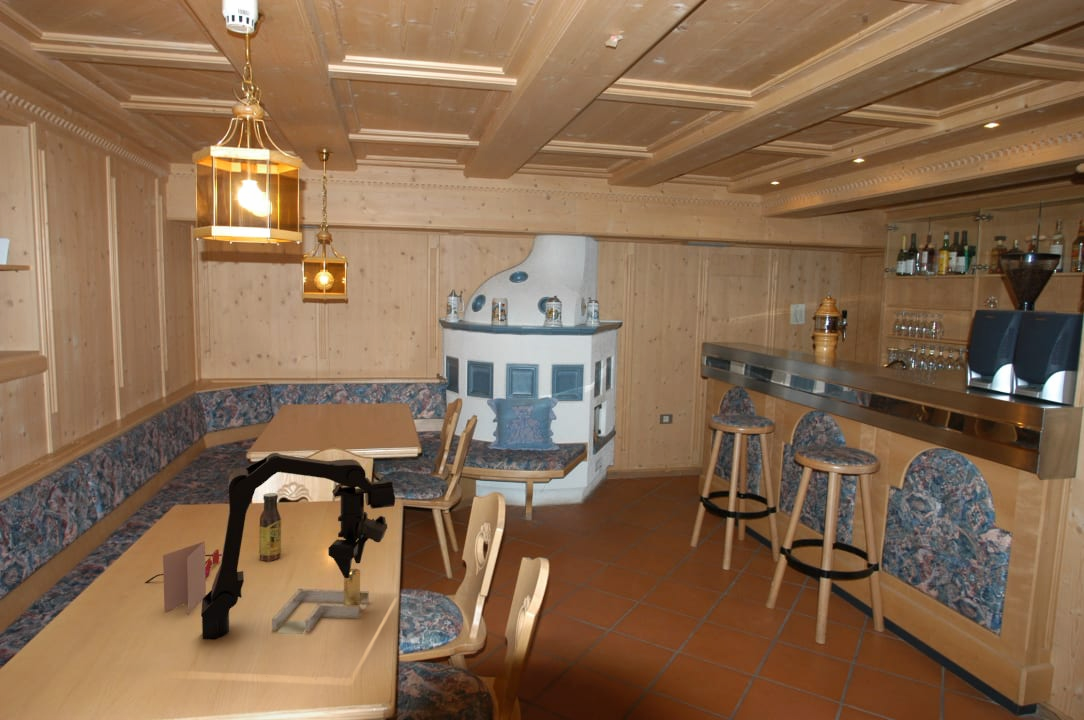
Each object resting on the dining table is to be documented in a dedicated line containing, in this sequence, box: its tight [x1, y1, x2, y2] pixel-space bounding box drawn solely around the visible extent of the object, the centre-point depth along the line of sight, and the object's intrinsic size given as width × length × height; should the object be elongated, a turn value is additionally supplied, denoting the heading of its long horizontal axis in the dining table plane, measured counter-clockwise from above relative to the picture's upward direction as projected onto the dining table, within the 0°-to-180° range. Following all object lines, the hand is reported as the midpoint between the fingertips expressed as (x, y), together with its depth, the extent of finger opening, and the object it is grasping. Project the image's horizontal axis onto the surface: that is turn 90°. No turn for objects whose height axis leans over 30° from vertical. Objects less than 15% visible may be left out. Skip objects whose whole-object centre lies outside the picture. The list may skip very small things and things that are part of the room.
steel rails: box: [271, 588, 370, 633], centre depth 167 cm, size 16×18×3 cm
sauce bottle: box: [258, 492, 282, 562], centre depth 205 cm, size 7×6×20 cm
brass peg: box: [343, 568, 361, 605], centre depth 170 cm, size 4×4×10 cm
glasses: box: [144, 548, 223, 584], centre depth 194 cm, size 14×16×5 cm
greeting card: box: [162, 541, 207, 616], centre depth 172 cm, size 11×7×15 cm, turn 152°
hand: (352, 570), depth 170 cm, fingers open, 9 cm apart
